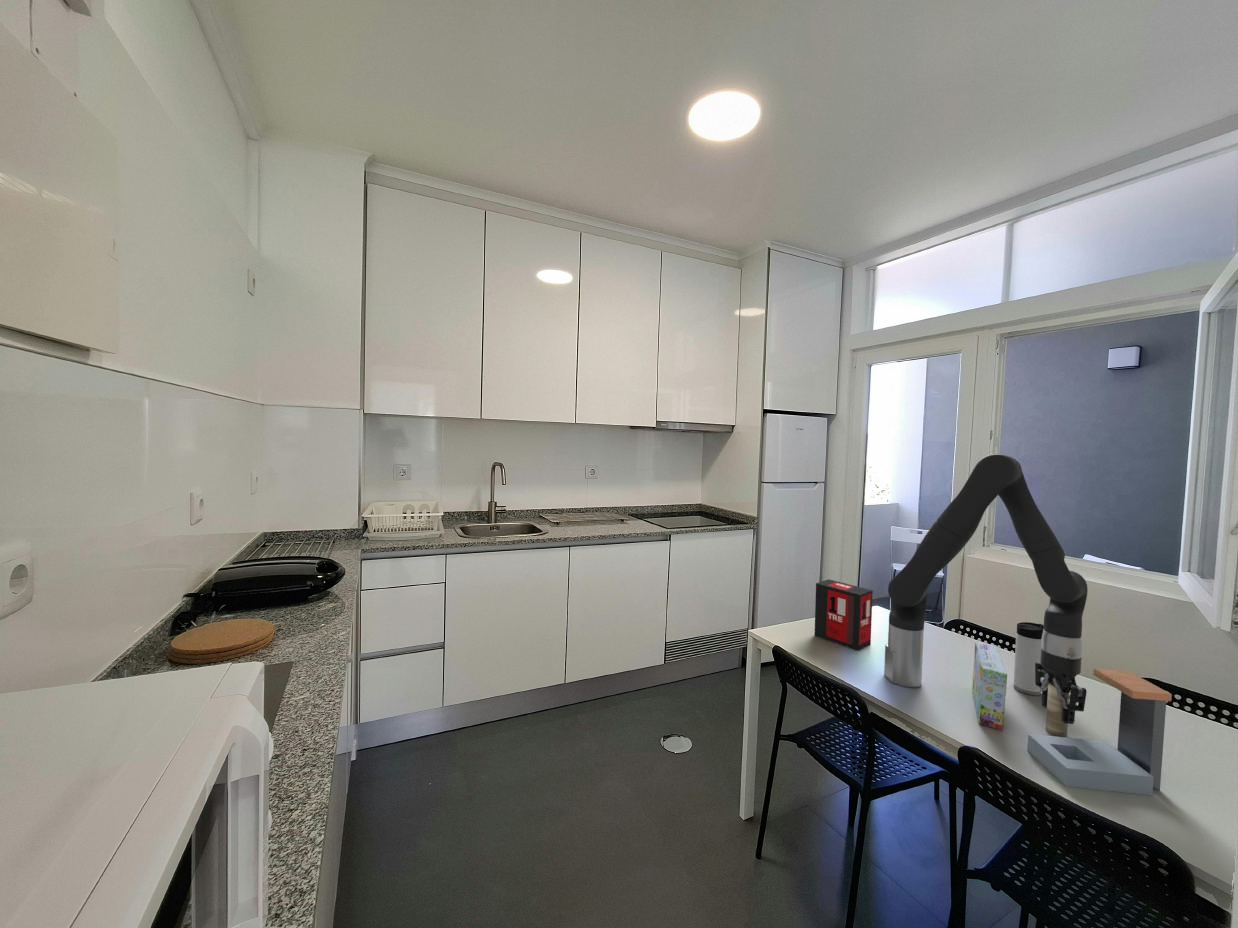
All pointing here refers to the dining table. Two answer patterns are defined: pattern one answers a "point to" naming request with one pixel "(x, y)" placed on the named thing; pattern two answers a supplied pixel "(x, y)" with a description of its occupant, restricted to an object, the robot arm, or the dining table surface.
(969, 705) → the dining table surface
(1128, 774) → the socket block
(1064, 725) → the peg
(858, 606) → the cleaning product box
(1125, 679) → the orange-capped grey pillar
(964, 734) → the dining table surface
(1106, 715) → the dining table surface
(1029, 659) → the travel mug
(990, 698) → the snack box
